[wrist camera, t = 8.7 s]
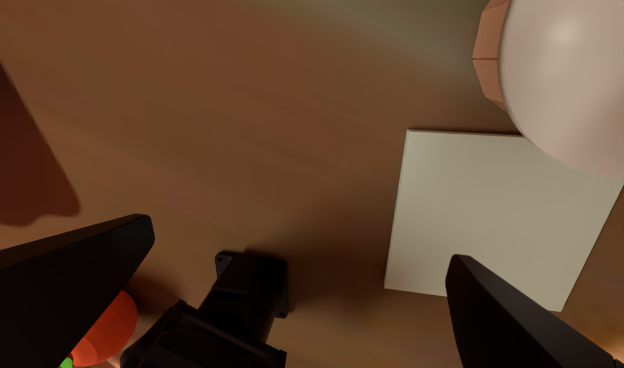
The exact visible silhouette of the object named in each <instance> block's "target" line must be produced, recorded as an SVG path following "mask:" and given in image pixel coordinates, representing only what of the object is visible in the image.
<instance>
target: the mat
mask: <svg viewBox="0 0 624 368" xmlns="http://www.w3.org/2000/svg"><path fill="white" fill-rule="evenodd" d="M623 185H624V178H619V177H610V176H602V175H597V174H593V173H589V172H585V171H581V170H579V169H576V168H573V167H571V166H568V165H566V164H564V163H562V162H560V161H558V160H556V159H555V158H553V157H551V156H549V155H547V154H546V153H544V152H542V151H540V150H539V149H538V148H537V147H535V146H534V145H533V144H532V143H530V142H529V141H528V140H527V139H526V138H525V137H524V136H523V135H505V134H486V133H468V132H449V131H431V130H413V129H407V134H406V141H405V147H404V154H403V160H402V167H401V173H400V180H399V187H398V193H397V200H396V206H395V213H394V220H393V226H392V233H391V239H390V246H389V252H388V259H387V266H386V272H385V279H384V288H387V289H394V290H402V291H409V292H417V293H424V294H432V295H439V296H447V293H446V288H445V278H446V274H447V270H448V267H449V263H450V260H451V257H452V255H454V254H462V255H469V256H471V257H473V258H474V259H475V260H477V261H478V262H480V263H481V264H483V265H484V266H485V267H487V268H488V269H490V270H491V271H492V272H494V273H495V274H497V275H498V276H500V277H501V278H502V279H504V280H505V281H507V282H508V283H509V284H511V285H512V286H514V287H515V288H517V289H518V290H519V291H521V292H522V293H524V294H525V295H527V296H528V297H529V298H531V299H532V300H534V301H535V302H536V303H538V304H539V305H541V306H542V307H544V308H545V309H546V310H551V311H559V312H561V310H562V308H563V306H564V304H565V302H566V300H567V298H568V296H569V294H570V292H571V290H572V288H573V286H574V284H575V282H576V280H577V278H578V276H579V274H580V272H581V270H582V268H583V266H584V264H585V262H586V260H587V258H588V256H589V254H590V252H591V250H592V248H593V246H594V244H595V242H596V240H597V238H598V236H599V234H600V231H601V229H602V227H603V225H604V223H605V221H606V219H607V217H608V215H609V213H610V211H611V209H612V207H613V205H614V203H615V201H616V199H617V197H618V195H619V193H620V191H621V189H622V187H623Z"/></svg>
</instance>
